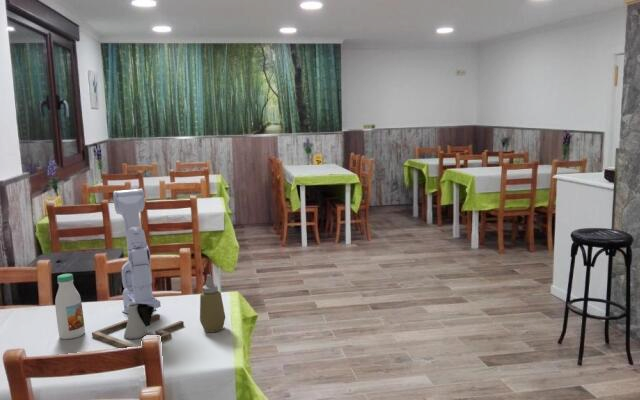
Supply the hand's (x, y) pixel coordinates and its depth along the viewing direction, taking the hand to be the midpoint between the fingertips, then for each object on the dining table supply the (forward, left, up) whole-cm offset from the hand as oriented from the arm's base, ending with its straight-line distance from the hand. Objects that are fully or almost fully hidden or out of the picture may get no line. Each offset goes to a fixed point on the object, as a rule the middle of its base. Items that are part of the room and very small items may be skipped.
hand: (146, 325), depth 179 cm
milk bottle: (-19, -15, -2) cm, 24 cm away
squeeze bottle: (+18, +12, -2) cm, 22 cm away
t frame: (0, -1, -2) cm, 2 cm away
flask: (0, -4, -2) cm, 4 cm away
